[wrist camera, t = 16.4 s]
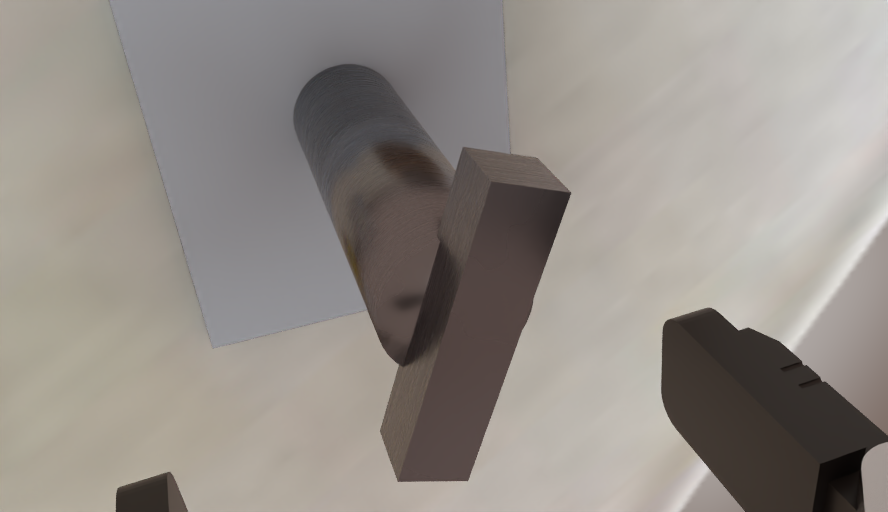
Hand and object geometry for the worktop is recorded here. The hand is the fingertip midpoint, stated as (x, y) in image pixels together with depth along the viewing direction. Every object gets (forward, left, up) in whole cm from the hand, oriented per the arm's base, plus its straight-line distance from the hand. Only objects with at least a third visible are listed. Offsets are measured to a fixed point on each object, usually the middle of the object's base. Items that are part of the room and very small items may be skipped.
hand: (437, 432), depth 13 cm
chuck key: (0, -1, -13) cm, 12 cm away
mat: (0, -1, -13) cm, 13 cm away
